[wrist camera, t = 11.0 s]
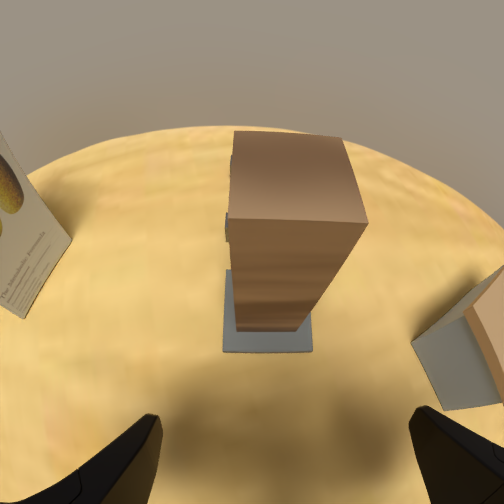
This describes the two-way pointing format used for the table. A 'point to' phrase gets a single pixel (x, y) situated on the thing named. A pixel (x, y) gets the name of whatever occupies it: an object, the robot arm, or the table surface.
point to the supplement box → (24, 237)
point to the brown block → (288, 225)
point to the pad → (261, 333)
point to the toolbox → (468, 348)
